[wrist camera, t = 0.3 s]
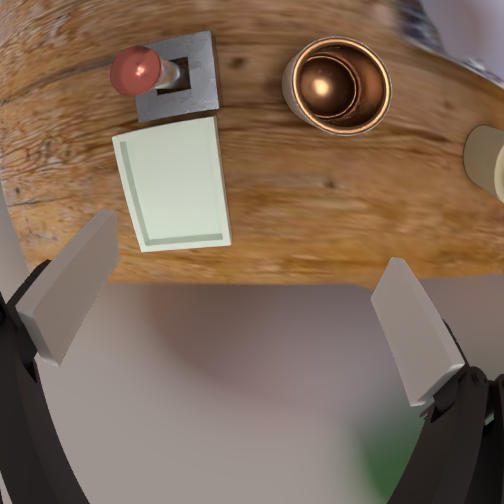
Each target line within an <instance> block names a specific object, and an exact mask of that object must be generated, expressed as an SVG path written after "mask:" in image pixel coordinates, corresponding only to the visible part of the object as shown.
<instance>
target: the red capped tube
mask: <svg viewBox="0 0 504 504" xmlns="http://www.w3.org/2000/svg"><path fill="white" fill-rule="evenodd" d="M110 79H111V83H112V85H113V87H114V88H115V90H116V91H117V92H119V93H121V94H123V95H126V96H136V95H142V94H145V93H148V92H149V91H151V90H152V89H154V88H162V89H182V88H185V87H187V86H188V85H189V84H190V83H191V82H190V74H189V68H187V67H185V66H182V65H179V64H176V63H173V62H170V61H167V60H163V59H162V58H161V56H160V55H159V54H158V53H157V52H156V51H154V50H153V49H150V48H147V47H144V46H133V47H130V48H128V49H126V50H124V51H123V52H121V53H120V54H119V55H118V56H117V57H116V59H115V60H114V62H113V64H112V67H111V71H110Z"/></svg>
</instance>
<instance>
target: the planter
mask: <svg viewBox="0 0 504 504" xmlns="http://www.w3.org/2000/svg"><path fill="white" fill-rule="evenodd" d="M282 92H283V96H284V99H285V101H286V103H287V105H288V106H289V108H290V109H291V110H292V111H293V113H294V114H295V115H297V116H298V117H299V118H300V119H302V120H304V121H305V122H307V123H309V124H311V125H313V126H315V127H317V128H319V129H321V130H323V131H325V132H328V133H331V134H335V135H340V136H353V135H358V134H362V133H365V132H367V131H369V130H371V129H372V128H374V127H375V126H376V125H378V124H379V123H380V122H381V121H382V119H383V118H384V117H385V115H386V113H387V111H388V109H389V107H390V103H391V99H392V84H391V79H390V75H389V73H388V70H387V68H386V66H385V64H384V63H383V61H382V60H381V59H380V57H379V56H378V55H377V54H376V53H375V52H374V51H373V50H372V49H370V48H369V47H368V46H366V45H365V44H363V43H361V42H359V41H357V40H354V39H351V38H347V37H339V36H332V37H325V38H321V39H319V40H316V41H314V42H312V43H310V44H309V45H307V46H306V47H305V48H304V49H303V50H301V51H300V52H299V53H298V54H296V55H295V56H294V57H293V58H292V59H291V60H290V61H289V63H288V64H287V66H286V67H285V70H284V72H283V76H282Z"/></svg>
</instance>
